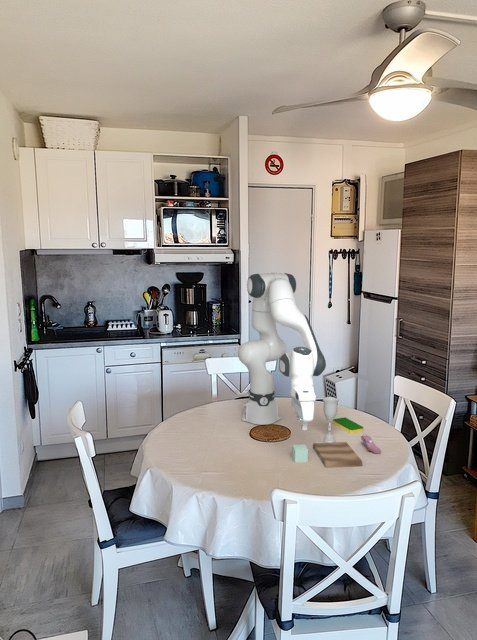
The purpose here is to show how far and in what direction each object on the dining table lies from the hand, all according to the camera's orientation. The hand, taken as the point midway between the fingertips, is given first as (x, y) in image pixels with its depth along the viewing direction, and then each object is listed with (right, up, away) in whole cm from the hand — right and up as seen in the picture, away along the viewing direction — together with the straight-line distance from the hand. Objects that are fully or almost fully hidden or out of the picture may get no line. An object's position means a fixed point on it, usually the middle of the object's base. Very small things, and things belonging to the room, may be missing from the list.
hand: (301, 425), depth 185 cm
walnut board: (+14, -14, +5) cm, 20 cm away
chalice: (+15, -11, +21) cm, 28 cm away
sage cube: (0, -14, +2) cm, 14 cm away
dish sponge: (+26, -9, +36) cm, 46 cm away
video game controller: (+30, -13, +12) cm, 34 cm away
